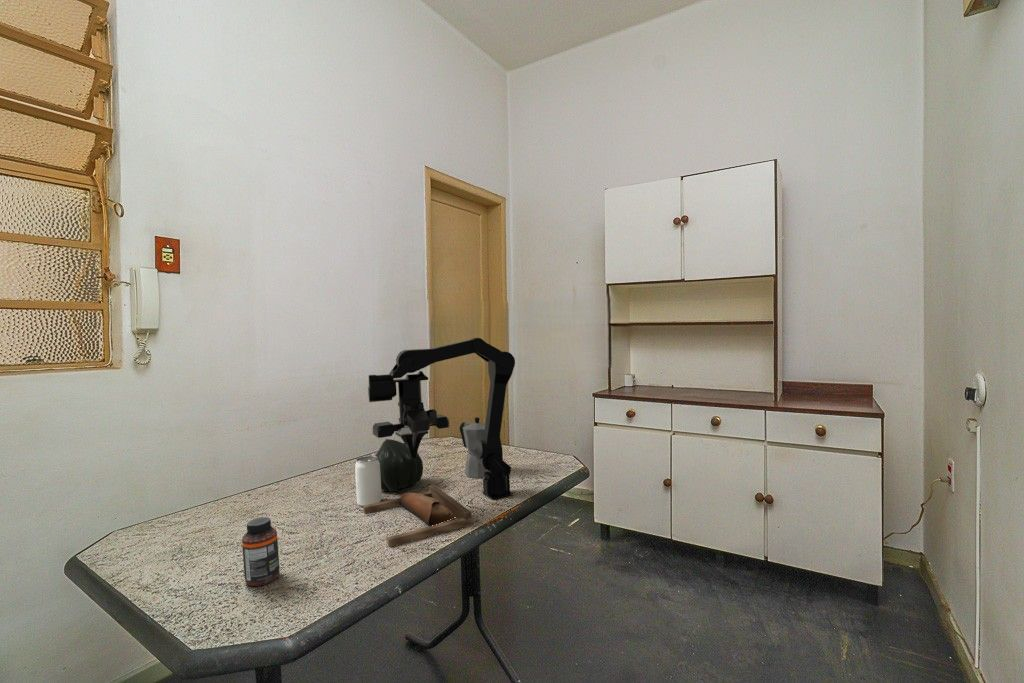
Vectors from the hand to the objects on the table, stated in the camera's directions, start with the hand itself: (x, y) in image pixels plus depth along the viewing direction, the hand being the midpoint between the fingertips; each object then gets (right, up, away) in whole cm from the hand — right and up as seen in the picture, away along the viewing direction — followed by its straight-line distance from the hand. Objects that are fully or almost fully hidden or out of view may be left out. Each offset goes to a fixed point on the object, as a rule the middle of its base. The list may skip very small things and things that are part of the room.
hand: (413, 458), depth 123 cm
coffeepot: (+15, -12, +28) cm, 34 cm away
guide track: (+2, -13, -6) cm, 14 cm away
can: (-13, -14, +6) cm, 20 cm away
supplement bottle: (-22, -15, -32) cm, 42 cm away
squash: (-9, -13, +18) cm, 24 cm away
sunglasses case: (+4, -14, -2) cm, 14 cm away
